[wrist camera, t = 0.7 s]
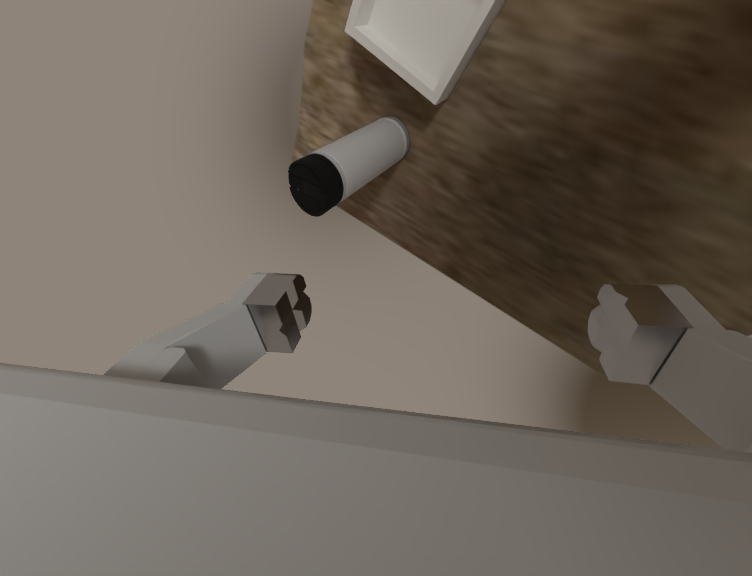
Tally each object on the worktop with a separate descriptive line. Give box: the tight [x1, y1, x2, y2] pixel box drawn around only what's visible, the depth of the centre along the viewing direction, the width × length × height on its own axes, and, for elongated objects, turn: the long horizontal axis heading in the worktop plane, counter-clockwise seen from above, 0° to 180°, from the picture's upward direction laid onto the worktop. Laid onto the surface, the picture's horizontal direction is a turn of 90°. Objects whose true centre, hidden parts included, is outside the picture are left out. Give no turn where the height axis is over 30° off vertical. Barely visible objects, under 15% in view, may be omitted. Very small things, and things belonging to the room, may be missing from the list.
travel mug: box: [288, 116, 410, 216], centre depth 41 cm, size 6×7×20 cm
